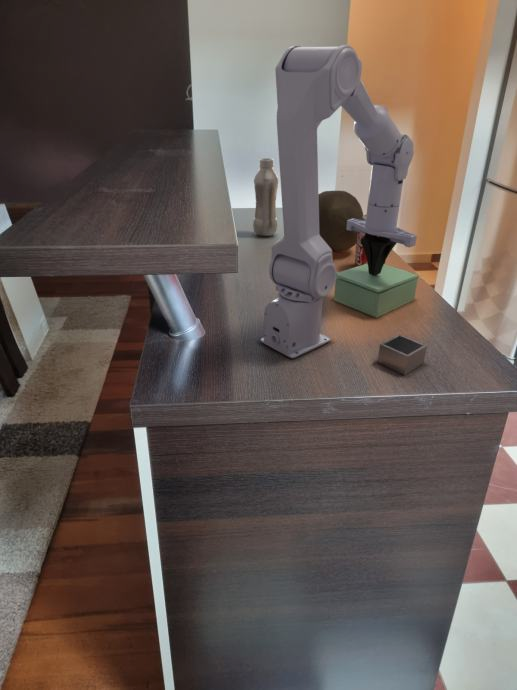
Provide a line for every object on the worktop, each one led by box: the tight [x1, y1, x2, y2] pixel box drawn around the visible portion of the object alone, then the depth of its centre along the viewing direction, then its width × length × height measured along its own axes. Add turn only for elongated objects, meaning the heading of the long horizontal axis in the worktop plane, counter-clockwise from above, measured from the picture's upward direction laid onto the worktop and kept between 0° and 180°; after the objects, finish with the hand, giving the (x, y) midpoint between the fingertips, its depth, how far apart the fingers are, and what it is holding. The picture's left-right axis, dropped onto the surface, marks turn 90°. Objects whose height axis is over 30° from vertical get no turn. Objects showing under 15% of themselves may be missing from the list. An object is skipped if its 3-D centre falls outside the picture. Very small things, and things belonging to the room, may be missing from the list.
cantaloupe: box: [318, 190, 364, 253], centre depth 127 cm, size 14×14×15 cm
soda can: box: [354, 214, 387, 267], centre depth 117 cm, size 7×7×12 cm
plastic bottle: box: [252, 157, 280, 237], centre depth 137 cm, size 6×7×20 cm
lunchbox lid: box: [336, 263, 419, 292], centre depth 101 cm, size 13×11×1 cm
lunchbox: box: [333, 277, 419, 318], centre depth 103 cm, size 13×11×5 cm
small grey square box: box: [377, 333, 428, 376], centre depth 82 cm, size 5×5×3 cm
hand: (374, 273), depth 101 cm, fingers closed
